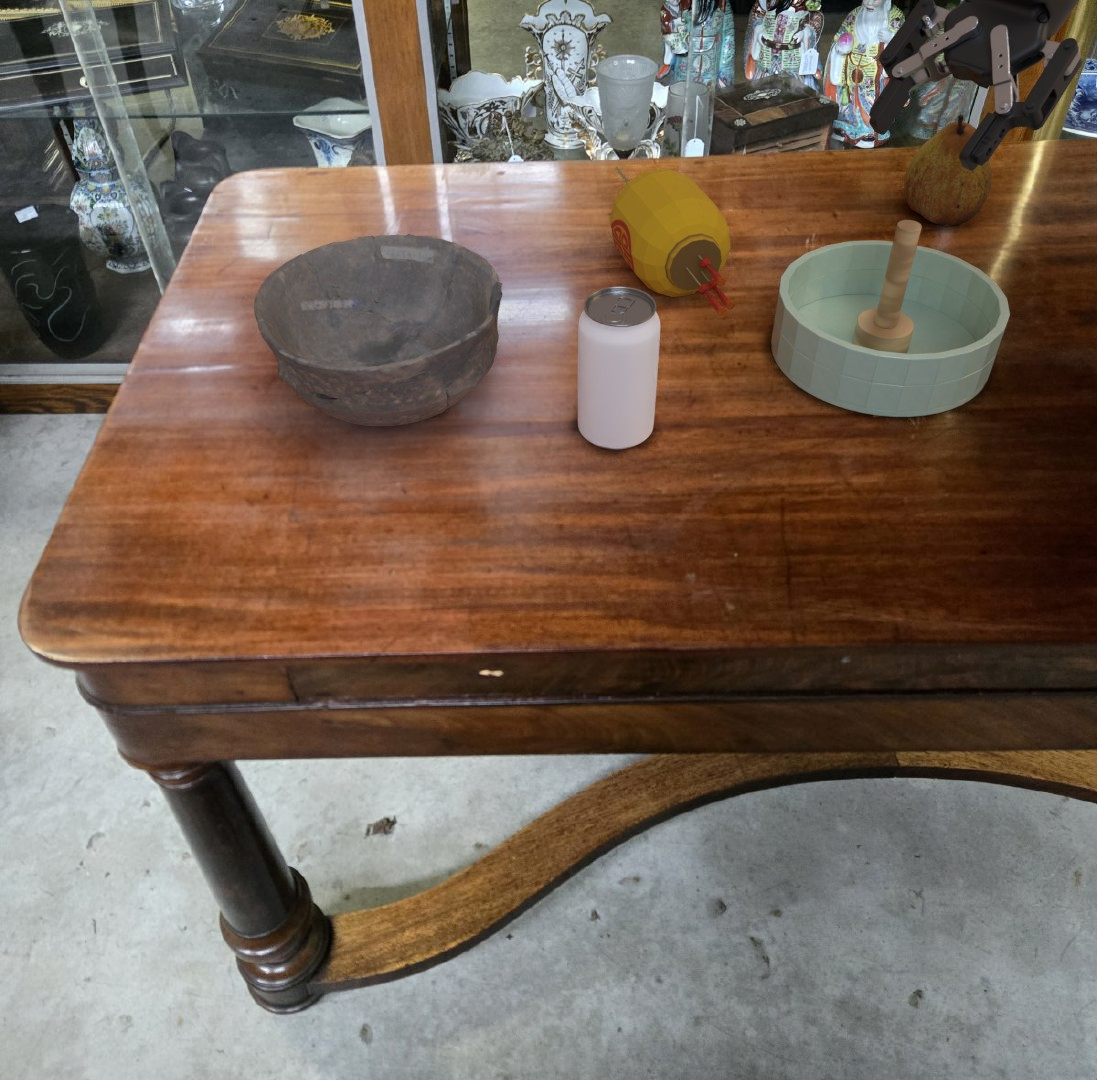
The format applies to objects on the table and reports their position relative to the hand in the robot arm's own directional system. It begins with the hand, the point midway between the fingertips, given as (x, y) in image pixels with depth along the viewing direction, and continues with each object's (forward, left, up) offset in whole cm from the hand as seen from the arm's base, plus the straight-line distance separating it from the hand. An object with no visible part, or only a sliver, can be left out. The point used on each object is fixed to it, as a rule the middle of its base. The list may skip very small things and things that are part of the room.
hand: (919, 146), depth 81 cm
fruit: (0, -30, -20) cm, 36 cm away
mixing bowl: (-1, -1, -20) cm, 20 cm away
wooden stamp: (-1, -1, -19) cm, 19 cm away
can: (+16, +20, -20) cm, 33 cm away
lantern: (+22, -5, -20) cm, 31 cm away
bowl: (+36, +24, -20) cm, 48 cm away
